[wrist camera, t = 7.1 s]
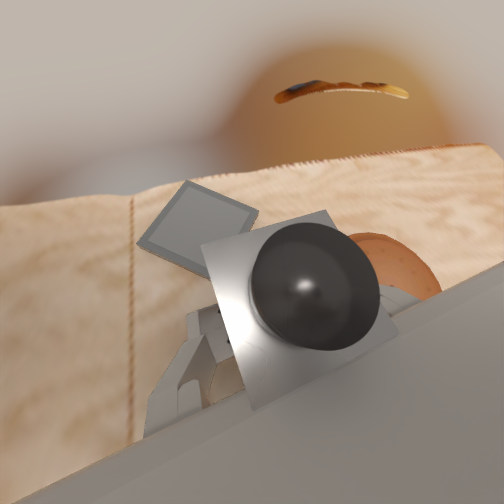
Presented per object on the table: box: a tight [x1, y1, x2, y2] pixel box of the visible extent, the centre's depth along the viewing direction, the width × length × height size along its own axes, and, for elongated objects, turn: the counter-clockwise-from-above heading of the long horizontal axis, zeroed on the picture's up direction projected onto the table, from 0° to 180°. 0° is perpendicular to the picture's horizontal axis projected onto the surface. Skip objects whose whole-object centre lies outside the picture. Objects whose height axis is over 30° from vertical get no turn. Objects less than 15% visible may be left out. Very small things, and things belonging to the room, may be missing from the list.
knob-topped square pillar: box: [200, 209, 400, 412], centre depth 10 cm, size 4×4×14 cm
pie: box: [348, 232, 442, 301], centre depth 24 cm, size 16×16×5 cm
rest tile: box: [136, 180, 259, 281], centre depth 27 cm, size 12×12×1 cm
